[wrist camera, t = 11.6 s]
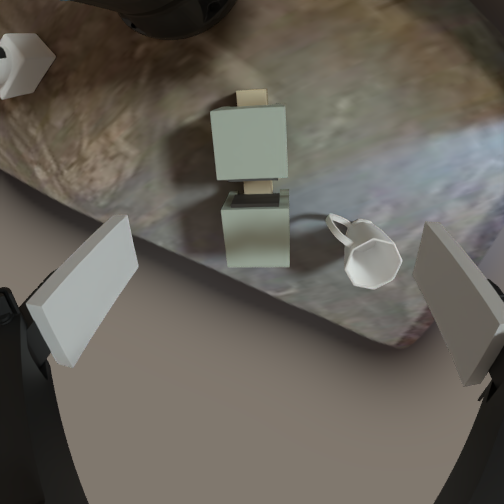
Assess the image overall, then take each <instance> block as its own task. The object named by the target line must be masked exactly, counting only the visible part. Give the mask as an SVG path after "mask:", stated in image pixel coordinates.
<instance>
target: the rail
mask: <svg viewBox="0 0 504 504" xmlns="http://www.w3.org/2000/svg"><path fill="white" fill-rule="evenodd" d="M236 95H237V107H238V106H254V105H268V94H267V89H251V90H239V91H236ZM243 182H244V194H239V192H238V191H230V192H229V194H228V196H227V198H226V201H225V203H224V205H223V207H222V209H221V216H222V224H223V233H224V241H225V249H226V257H227V265H228V267H290V230H289V189H280V193H275V194H273V185H272V180H270V181H243Z"/></svg>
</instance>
